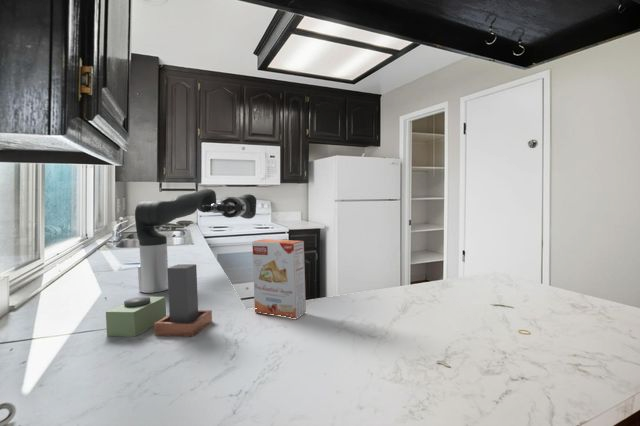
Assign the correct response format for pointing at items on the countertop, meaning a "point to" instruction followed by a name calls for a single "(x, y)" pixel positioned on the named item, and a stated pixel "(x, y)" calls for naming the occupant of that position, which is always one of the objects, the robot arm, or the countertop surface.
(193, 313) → the block
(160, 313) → the green block with knob
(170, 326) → the collar
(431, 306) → the countertop surface
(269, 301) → the cracker box
